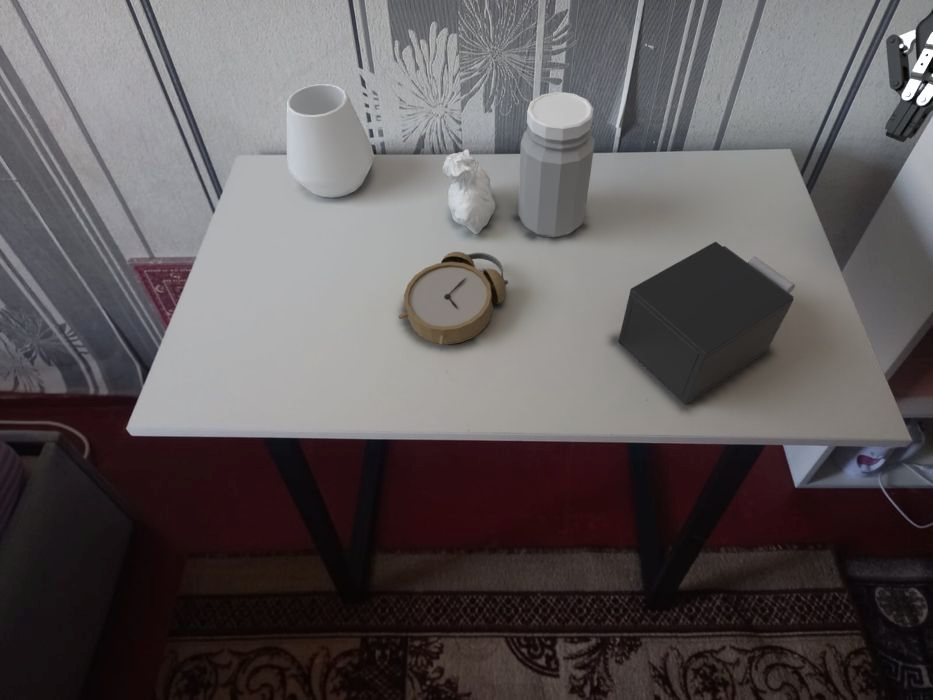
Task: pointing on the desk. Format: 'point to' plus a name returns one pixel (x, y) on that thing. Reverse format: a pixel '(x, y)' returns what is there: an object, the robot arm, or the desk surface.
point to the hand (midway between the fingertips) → (894, 138)
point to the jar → (555, 164)
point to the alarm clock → (453, 298)
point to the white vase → (326, 141)
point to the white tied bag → (468, 191)
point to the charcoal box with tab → (702, 320)
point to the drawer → (769, 274)
